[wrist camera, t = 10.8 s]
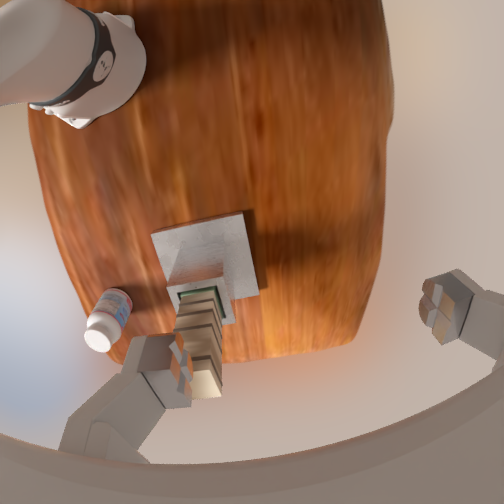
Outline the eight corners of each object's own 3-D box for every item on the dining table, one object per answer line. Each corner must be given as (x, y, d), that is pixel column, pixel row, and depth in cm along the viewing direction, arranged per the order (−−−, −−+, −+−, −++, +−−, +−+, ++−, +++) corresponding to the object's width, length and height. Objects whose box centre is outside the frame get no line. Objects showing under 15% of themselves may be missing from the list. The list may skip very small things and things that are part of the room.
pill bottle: (130, 318, 49) (113, 360, 39) (101, 307, 48) (79, 347, 37) (135, 293, 47) (117, 335, 37) (104, 282, 45) (80, 320, 35)
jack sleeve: (179, 304, 48) (168, 352, 38) (153, 230, 42) (130, 267, 32) (258, 289, 48) (267, 337, 37) (242, 210, 42) (247, 242, 31)
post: (193, 302, 39) (180, 401, 24) (185, 276, 38) (163, 373, 22) (222, 296, 39) (223, 396, 24) (215, 270, 38) (210, 368, 22)
